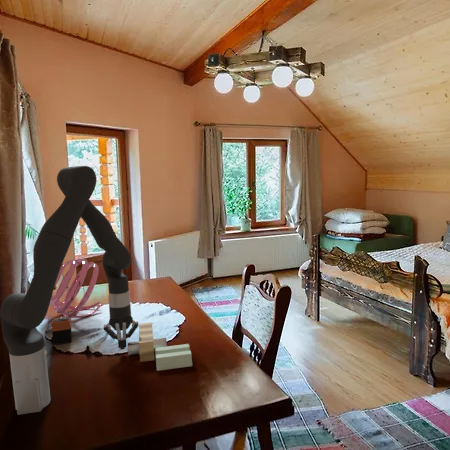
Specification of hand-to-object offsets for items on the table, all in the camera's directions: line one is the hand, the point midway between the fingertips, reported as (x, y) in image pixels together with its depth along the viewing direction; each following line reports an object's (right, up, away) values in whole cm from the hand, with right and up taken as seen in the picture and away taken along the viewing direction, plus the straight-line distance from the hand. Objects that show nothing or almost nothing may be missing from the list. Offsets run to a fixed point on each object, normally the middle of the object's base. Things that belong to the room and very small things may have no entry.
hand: (122, 348), depth 145 cm
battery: (-27, -2, +13) cm, 30 cm away
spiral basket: (-34, +2, +43) cm, 55 cm away
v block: (+20, -2, -7) cm, 21 cm away
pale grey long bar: (+9, +1, +1) cm, 9 cm away
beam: (+8, -1, +3) cm, 9 cm away
